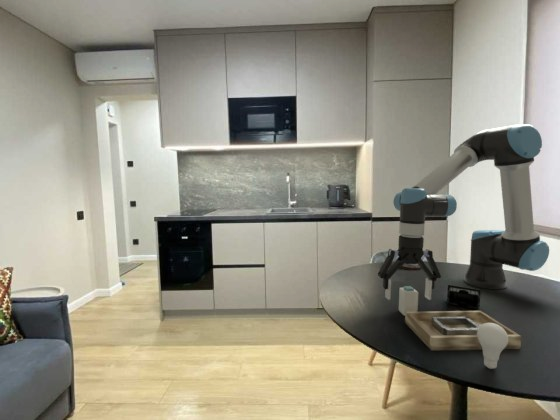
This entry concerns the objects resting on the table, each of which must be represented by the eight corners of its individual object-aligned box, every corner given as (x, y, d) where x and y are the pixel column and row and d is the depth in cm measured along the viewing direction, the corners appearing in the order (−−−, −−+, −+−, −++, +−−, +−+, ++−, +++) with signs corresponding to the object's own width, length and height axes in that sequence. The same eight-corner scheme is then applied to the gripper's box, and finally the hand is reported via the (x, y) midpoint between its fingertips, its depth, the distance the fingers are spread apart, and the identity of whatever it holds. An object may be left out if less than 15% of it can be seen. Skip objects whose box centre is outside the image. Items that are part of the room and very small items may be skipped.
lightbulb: (469, 361, 77) (471, 318, 76) (492, 360, 78) (495, 317, 77) (487, 376, 71) (490, 330, 70) (512, 375, 72) (516, 329, 71)
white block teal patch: (411, 309, 107) (412, 285, 106) (417, 315, 103) (418, 289, 102) (398, 310, 107) (399, 285, 106) (404, 315, 103) (405, 289, 102)
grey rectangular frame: (466, 322, 96) (466, 316, 96) (484, 336, 87) (485, 329, 87) (429, 323, 95) (429, 316, 95) (444, 337, 87) (445, 330, 87)
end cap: (479, 305, 111) (480, 287, 111) (479, 313, 105) (481, 293, 105) (447, 299, 116) (448, 282, 116) (446, 306, 110) (447, 288, 110)
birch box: (479, 321, 99) (480, 310, 98) (520, 348, 83) (521, 336, 83) (405, 322, 98) (405, 311, 98) (431, 350, 82) (432, 337, 82)
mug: (395, 268, 156) (397, 238, 157) (399, 266, 169) (401, 238, 169) (421, 271, 151) (423, 240, 151) (423, 269, 163) (425, 240, 164)
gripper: (442, 233, 107) (438, 294, 109) (369, 233, 106) (367, 294, 108) (455, 237, 99) (450, 302, 101) (377, 237, 98) (374, 302, 100)
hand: (407, 298), depth 105 cm, fingers open, 13 cm apart
